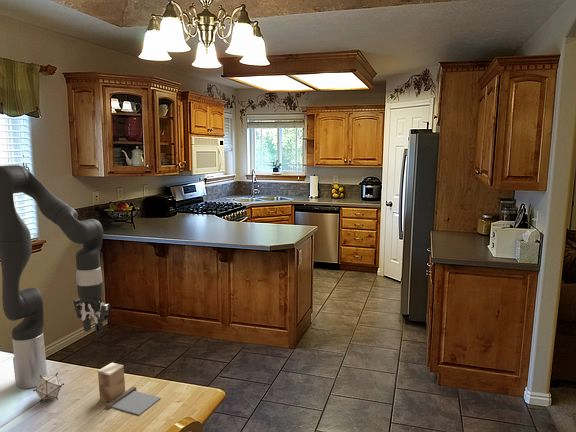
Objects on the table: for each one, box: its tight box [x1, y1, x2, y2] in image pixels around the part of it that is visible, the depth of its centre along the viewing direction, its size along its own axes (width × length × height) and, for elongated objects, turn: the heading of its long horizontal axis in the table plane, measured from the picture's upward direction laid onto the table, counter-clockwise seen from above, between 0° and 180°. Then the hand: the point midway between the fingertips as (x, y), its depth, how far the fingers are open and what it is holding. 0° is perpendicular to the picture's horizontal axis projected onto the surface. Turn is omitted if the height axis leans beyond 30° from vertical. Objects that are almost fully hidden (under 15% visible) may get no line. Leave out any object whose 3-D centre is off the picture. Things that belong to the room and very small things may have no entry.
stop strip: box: [105, 386, 137, 410], centre depth 145 cm, size 2×12×1 cm, turn 157°
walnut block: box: [97, 362, 126, 403], centre depth 146 cm, size 5×6×10 cm
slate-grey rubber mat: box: [111, 390, 162, 416], centre depth 142 cm, size 11×10×1 cm
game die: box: [32, 372, 65, 403], centre depth 145 cm, size 9×8×10 cm
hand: (93, 331), depth 146 cm, fingers open, 4 cm apart
